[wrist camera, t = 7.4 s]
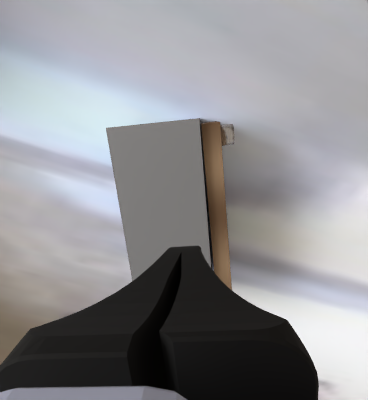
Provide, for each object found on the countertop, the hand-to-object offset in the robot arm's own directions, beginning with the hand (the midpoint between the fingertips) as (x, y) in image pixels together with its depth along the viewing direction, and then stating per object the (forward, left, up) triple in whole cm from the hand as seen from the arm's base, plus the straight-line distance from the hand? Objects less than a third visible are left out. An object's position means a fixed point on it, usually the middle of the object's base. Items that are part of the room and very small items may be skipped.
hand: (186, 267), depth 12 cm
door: (0, -2, -10) cm, 10 cm away
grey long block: (0, +1, -10) cm, 10 cm away
